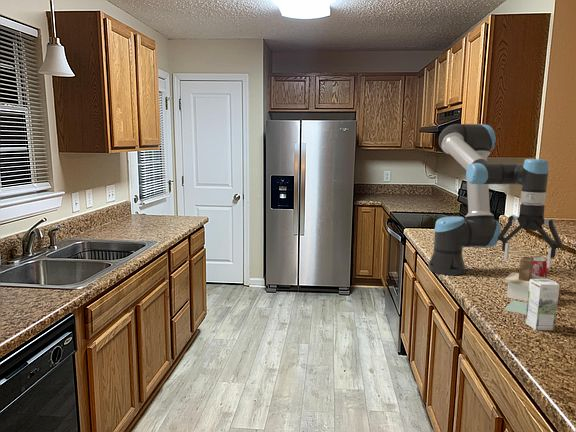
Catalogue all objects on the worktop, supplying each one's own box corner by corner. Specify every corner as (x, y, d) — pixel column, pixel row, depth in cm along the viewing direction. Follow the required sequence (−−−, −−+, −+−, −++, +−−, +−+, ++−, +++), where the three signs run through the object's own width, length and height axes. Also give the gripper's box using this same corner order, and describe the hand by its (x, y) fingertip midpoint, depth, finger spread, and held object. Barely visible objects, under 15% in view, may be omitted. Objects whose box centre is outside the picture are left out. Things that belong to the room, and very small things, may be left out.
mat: (503, 310, 147) (503, 309, 147) (512, 301, 156) (512, 300, 156) (544, 319, 139) (544, 318, 139) (551, 309, 149) (551, 308, 148)
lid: (504, 281, 158) (506, 259, 157) (511, 275, 167) (513, 253, 166) (539, 288, 152) (541, 264, 150) (545, 280, 160) (547, 258, 159)
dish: (506, 297, 160) (508, 281, 159) (513, 291, 166) (514, 276, 166) (534, 303, 154) (536, 287, 153) (540, 297, 161) (541, 281, 160)
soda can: (522, 290, 169) (525, 259, 167) (525, 285, 174) (528, 255, 173) (543, 293, 165) (546, 262, 163) (546, 289, 170) (549, 258, 168)
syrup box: (542, 323, 136) (547, 277, 134) (555, 331, 130) (560, 283, 128) (524, 323, 136) (529, 277, 134) (535, 331, 130) (540, 283, 128)
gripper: (491, 201, 160) (486, 259, 163) (572, 208, 144) (565, 272, 148) (497, 199, 166) (492, 255, 169) (576, 206, 150) (569, 267, 153)
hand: (526, 263), depth 158 cm, fingers open, 13 cm apart
